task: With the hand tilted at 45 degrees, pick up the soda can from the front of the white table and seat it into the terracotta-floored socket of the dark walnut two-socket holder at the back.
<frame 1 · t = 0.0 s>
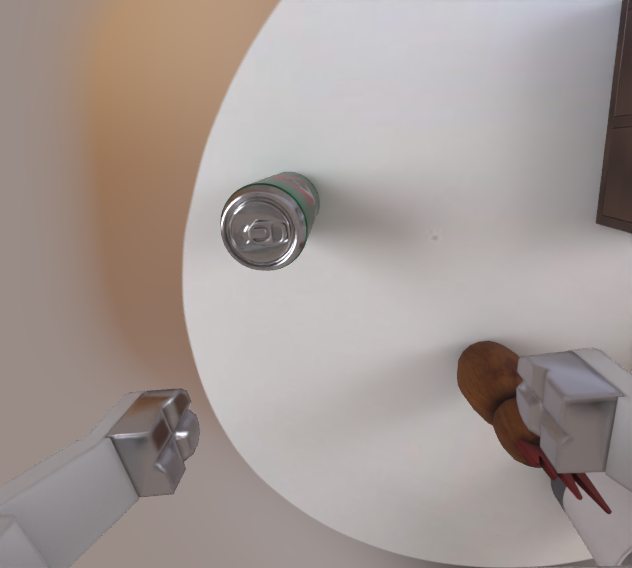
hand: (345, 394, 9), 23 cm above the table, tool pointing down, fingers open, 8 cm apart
planter: (605, 462, 38), on the table
wooden figurine: (482, 358, 34), on the table
soda can: (291, 201, 30), on the table
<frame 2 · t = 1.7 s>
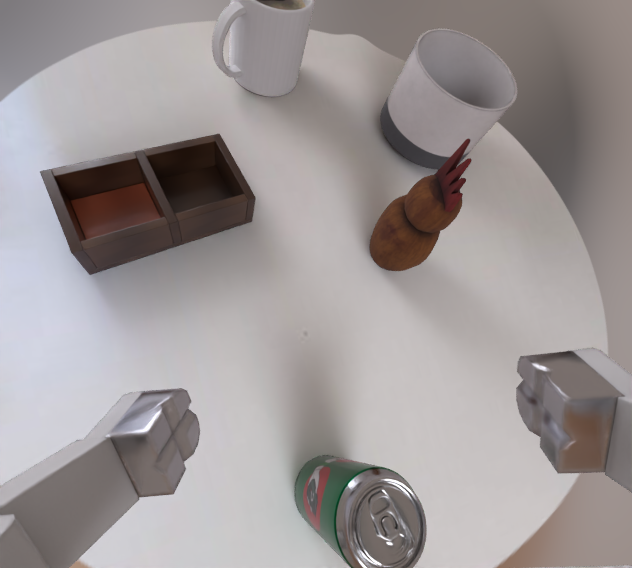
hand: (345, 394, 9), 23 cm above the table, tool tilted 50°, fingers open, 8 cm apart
holder: (162, 212, 34), on the table
planter: (418, 139, 48), on the table
wooden figurine: (386, 253, 39), on the table
mug: (256, 74, 45), on the table
soda can: (322, 489, 28), on the table
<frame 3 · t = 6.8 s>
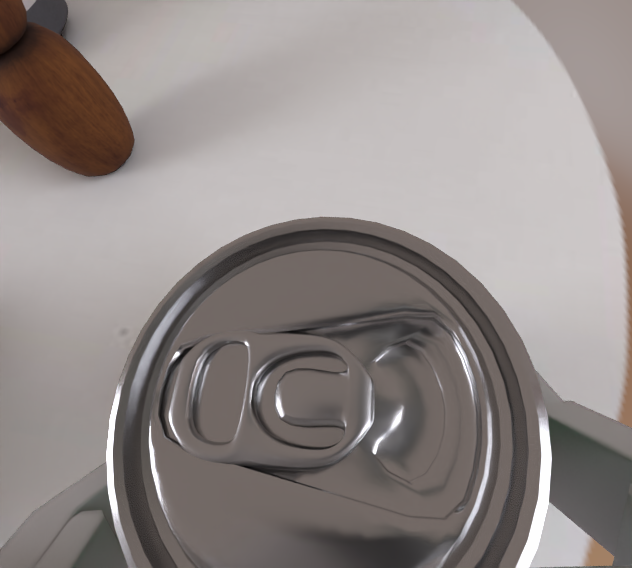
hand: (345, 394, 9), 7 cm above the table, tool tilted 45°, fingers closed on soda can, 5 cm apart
planter: (18, 54, 32), on the table
wooden figurine: (109, 156, 24), on the table
soda can: (362, 427, 14), on the table, touching gripper
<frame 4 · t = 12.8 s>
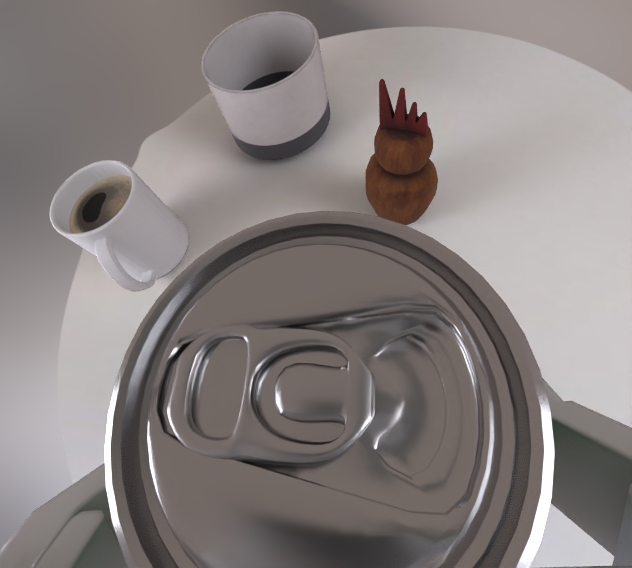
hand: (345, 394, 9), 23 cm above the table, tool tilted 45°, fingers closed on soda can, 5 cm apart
planter: (284, 130, 46), on the table
wooden figurine: (398, 210, 38), on the table
mug: (153, 256, 41), on the table
soda can: (362, 425, 14), point 17 cm above the table, touching gripper
when the fingers open (7 cm above the table, at t = 18.7 s): soda can stays where it is, resting on holder.
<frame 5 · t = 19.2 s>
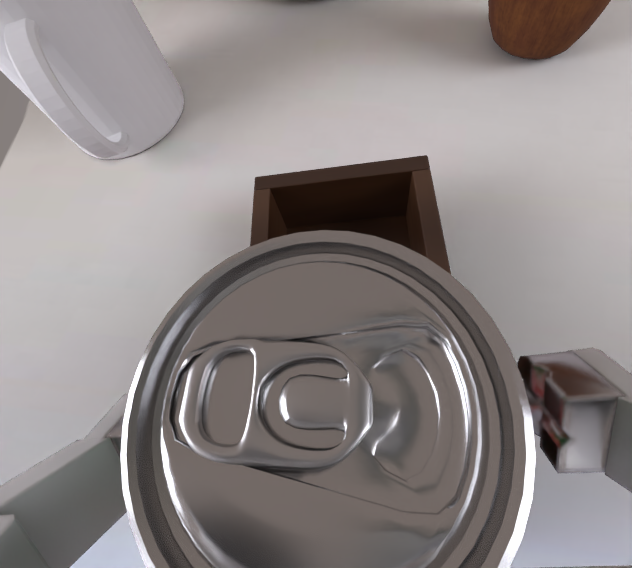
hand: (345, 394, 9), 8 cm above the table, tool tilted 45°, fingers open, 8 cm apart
holder: (353, 349, 17), on the table
wooden figurine: (527, 45, 23), on the table
mug: (128, 128, 26), on the table
soda can: (359, 427, 15), point 1 cm above the table, touching holder
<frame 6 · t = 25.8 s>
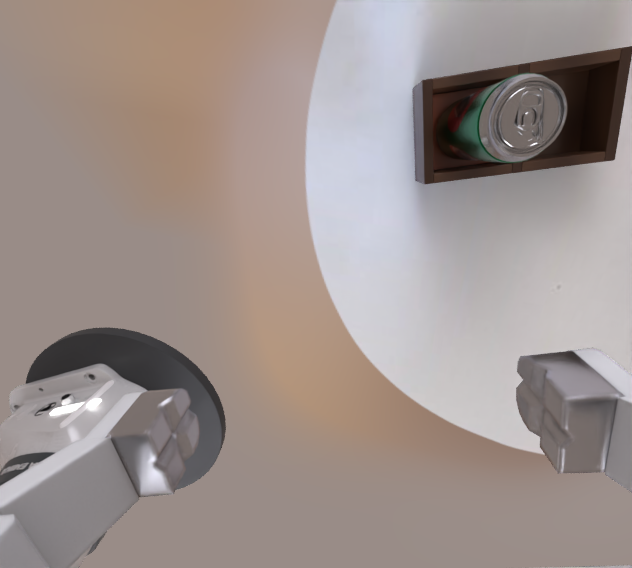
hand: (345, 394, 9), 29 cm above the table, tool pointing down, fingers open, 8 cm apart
holder: (499, 124, 32), on the table
soda can: (461, 130, 32), point 1 cm above the table, touching holder
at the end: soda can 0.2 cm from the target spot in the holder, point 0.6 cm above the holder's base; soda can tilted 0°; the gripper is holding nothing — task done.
